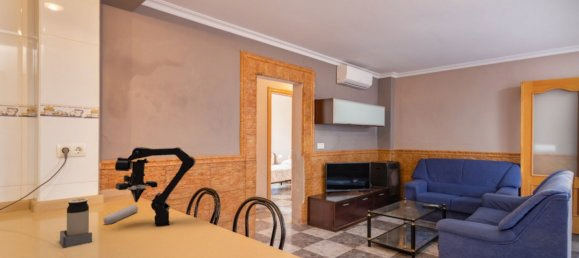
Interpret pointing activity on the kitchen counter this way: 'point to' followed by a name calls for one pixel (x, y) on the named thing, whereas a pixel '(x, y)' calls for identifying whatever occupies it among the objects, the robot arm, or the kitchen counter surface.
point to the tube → (120, 214)
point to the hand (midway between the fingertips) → (136, 202)
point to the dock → (74, 239)
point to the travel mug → (77, 217)
